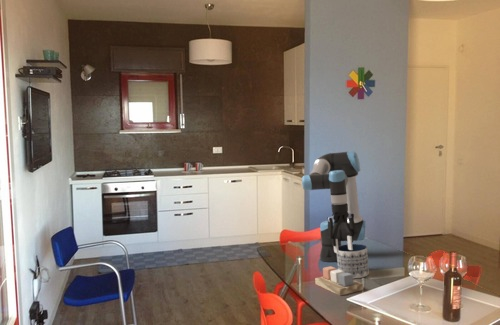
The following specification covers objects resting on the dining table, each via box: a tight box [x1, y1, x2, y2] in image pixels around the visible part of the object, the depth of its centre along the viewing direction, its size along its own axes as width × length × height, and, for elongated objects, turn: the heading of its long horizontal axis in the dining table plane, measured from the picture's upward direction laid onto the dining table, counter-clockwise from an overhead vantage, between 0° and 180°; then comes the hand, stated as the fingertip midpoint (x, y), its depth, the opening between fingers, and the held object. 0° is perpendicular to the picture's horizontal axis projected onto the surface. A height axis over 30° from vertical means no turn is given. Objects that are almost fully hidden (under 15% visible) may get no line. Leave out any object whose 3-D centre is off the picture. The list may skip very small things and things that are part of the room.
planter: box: [336, 243, 370, 280], centre depth 249 cm, size 16×16×14 cm
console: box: [314, 276, 364, 296], centre depth 231 cm, size 13×22×3 cm, turn 23°
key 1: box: [322, 265, 338, 280], centre depth 238 cm, size 5×5×5 cm
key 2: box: [338, 272, 354, 287], centre depth 225 cm, size 5×5×5 cm
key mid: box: [330, 268, 345, 283], centre depth 231 cm, size 5×5×5 cm
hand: (343, 251), depth 224 cm, fingers open, 7 cm apart
